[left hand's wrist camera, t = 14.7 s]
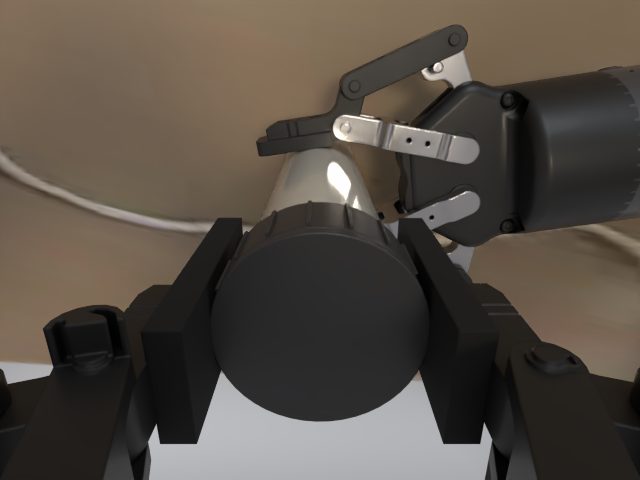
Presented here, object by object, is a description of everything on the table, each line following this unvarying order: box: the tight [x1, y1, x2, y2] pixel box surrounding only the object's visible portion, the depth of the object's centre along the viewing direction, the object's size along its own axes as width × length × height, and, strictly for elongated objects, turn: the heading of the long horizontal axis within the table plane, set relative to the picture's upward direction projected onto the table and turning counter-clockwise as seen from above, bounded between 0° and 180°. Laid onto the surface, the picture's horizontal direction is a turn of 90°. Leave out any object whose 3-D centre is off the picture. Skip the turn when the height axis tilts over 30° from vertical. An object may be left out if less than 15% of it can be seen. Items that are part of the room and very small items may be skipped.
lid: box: [210, 200, 430, 421], centre depth 11 cm, size 5×5×2 cm
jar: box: [260, 140, 379, 222], centre depth 20 cm, size 4×4×19 cm
